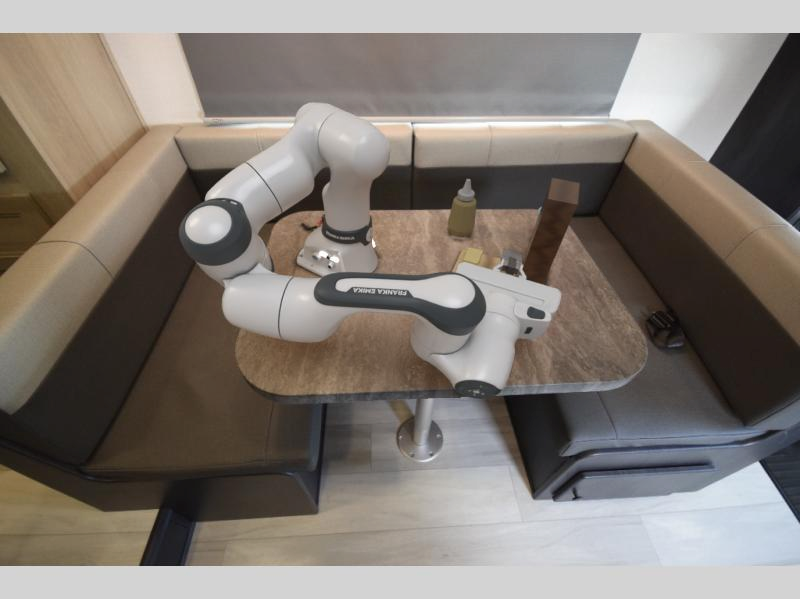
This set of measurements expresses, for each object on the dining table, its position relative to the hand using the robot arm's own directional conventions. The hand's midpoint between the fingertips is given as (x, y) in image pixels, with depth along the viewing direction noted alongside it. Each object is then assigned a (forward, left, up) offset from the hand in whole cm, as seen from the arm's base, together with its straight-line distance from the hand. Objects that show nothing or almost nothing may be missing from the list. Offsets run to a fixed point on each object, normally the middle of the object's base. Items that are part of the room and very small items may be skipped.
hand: (511, 263), depth 72 cm
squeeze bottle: (-17, +30, -18) cm, 39 cm away
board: (-6, +15, -17) cm, 24 cm away
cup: (+7, +36, -18) cm, 41 cm away
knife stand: (+6, +18, -17) cm, 26 cm away
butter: (-10, +16, -16) cm, 25 cm away
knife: (0, +3, -3) cm, 4 cm away
